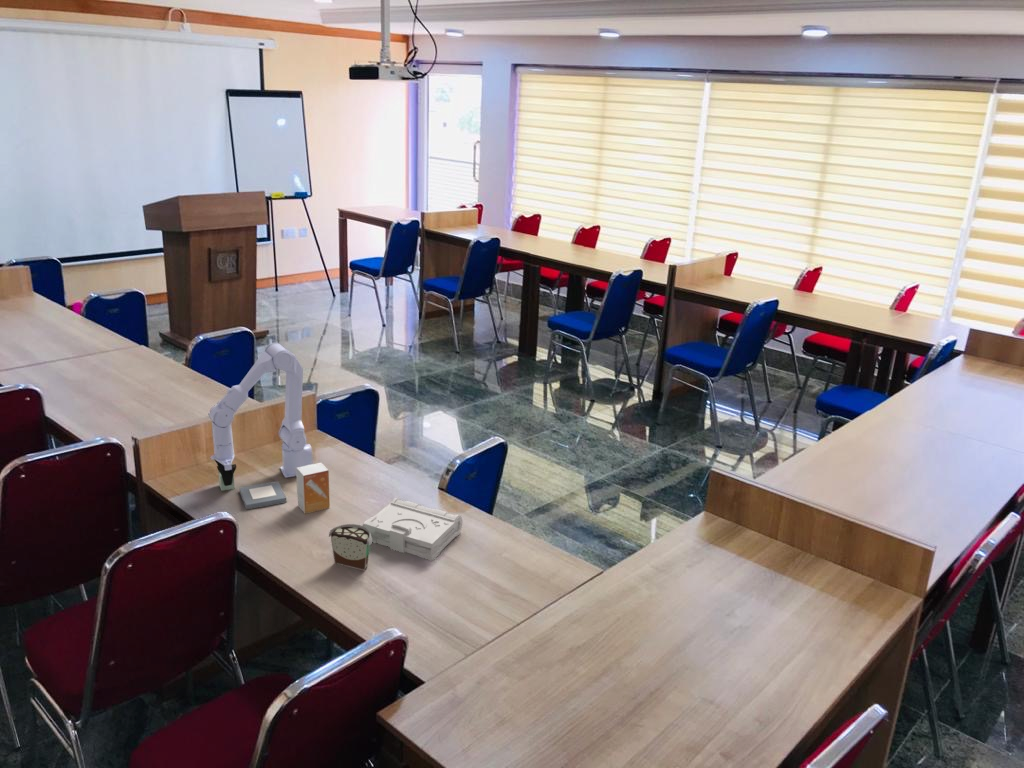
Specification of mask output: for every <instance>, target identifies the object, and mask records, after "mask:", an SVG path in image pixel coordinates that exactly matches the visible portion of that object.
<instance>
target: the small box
mask: <svg viewBox="0 0 1024 768" xmlns="http://www.w3.org/2000/svg"><path fill="white" fill-rule="evenodd" d="M329 473H330V471H329V469H328V468H327V467H326V466H325V464H323V462H317V463H313V464H311V465H306V466H302V467H298V468H296V476H295V477H296V493H297V494H296V495H297V496H296V497H297V506H298V507H299V508H300V510H301V511H302V512H303V514H309V513H313V512H319V511H322V510H326V508H327V509H330V508H331V507H330V506H331V504H330V476H329V475H330V474H329Z"/></svg>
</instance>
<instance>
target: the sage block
mask: <svg viewBox="0 0 1024 768" xmlns="http://www.w3.org/2000/svg"><path fill="white" fill-rule="evenodd" d="M234 474H235V473H234ZM234 474H233V480H232V485H229V486H225V485H224V483H223V479H222V476H221V473H220V472H219V471H218V481H219V487H220V490H221V492H222V491H227V490H234V489H235V475H234Z"/></svg>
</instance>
